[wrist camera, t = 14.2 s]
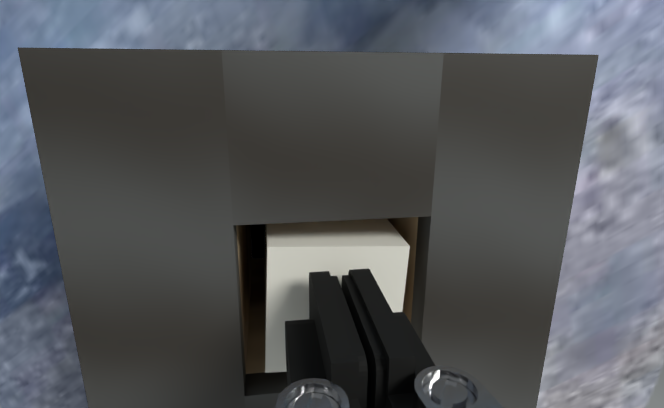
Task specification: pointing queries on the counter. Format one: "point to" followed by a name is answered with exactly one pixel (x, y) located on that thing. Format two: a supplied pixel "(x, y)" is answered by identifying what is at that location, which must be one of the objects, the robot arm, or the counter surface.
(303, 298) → the peg
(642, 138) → the counter surface
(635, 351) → the counter surface
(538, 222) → the socket
